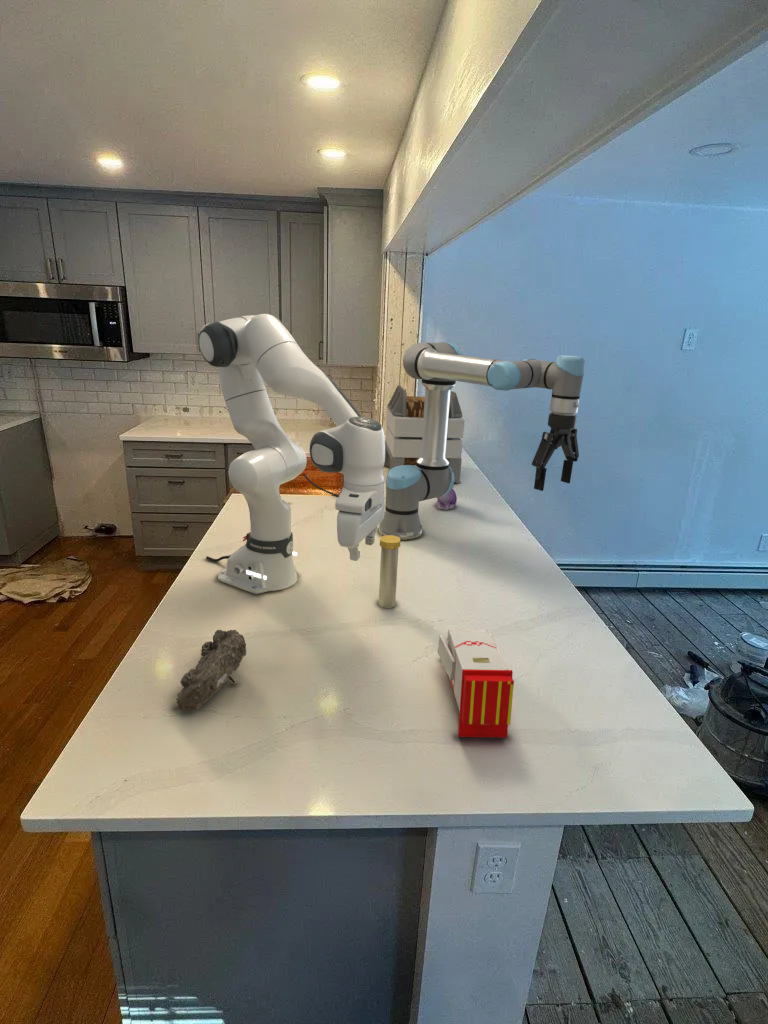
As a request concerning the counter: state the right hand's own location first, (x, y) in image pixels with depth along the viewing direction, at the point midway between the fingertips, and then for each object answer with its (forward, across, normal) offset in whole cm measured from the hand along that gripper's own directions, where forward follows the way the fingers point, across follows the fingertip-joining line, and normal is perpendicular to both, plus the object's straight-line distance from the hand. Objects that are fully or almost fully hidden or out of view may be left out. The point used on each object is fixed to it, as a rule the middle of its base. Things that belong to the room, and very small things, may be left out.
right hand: (552, 485), depth 166 cm
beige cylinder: (+28, -51, +13) cm, 60 cm away
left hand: (+5, -67, +4) cm, 68 cm away
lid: (+10, -51, +13) cm, 53 cm away
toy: (+28, -62, -26) cm, 72 cm away
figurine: (+28, +21, +59) cm, 69 cm away
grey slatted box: (+28, +46, +101) cm, 115 cm away
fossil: (+28, -101, +9) cm, 106 cm away
